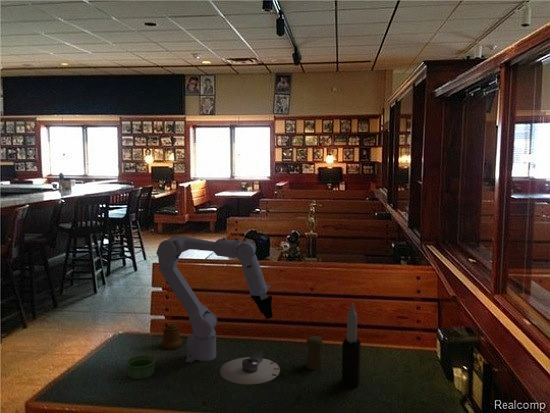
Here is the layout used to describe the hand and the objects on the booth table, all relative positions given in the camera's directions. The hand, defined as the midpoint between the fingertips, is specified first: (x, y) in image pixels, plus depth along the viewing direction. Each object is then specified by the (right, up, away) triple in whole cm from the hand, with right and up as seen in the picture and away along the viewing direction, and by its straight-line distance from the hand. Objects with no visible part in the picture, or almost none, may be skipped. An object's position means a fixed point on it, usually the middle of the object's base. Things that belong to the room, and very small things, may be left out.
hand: (267, 315), depth 152 cm
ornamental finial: (-35, -15, +16) cm, 42 cm away
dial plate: (-5, -17, -6) cm, 19 cm away
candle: (+26, -18, -11) cm, 34 cm away
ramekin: (-40, -17, -6) cm, 44 cm away
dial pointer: (-4, -15, -4) cm, 16 cm away
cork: (+15, -17, -3) cm, 23 cm away
